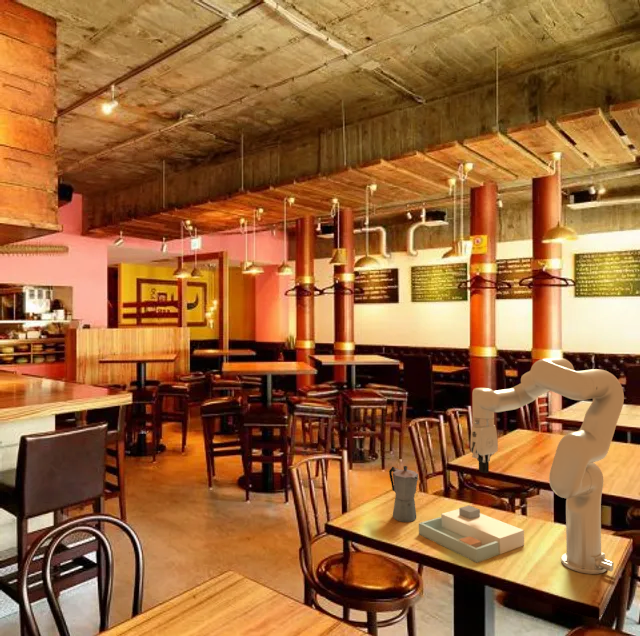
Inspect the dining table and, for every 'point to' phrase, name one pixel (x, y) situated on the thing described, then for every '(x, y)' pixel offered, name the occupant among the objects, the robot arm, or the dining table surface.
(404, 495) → the moka pot
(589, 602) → the dining table surface
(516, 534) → the board
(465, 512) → the slate tile
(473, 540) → the terracotta tile
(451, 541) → the box
